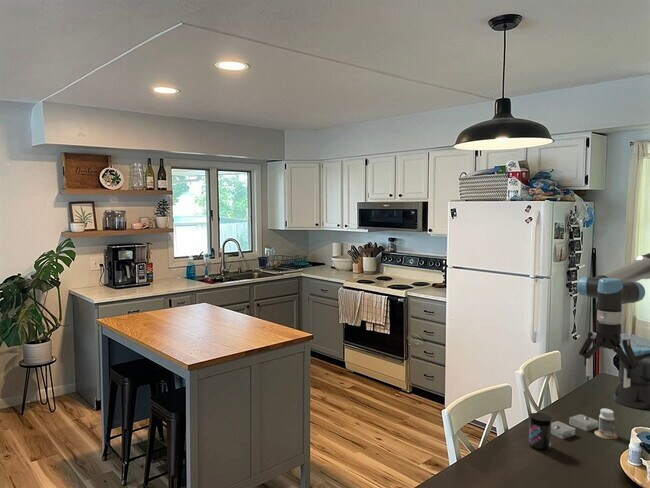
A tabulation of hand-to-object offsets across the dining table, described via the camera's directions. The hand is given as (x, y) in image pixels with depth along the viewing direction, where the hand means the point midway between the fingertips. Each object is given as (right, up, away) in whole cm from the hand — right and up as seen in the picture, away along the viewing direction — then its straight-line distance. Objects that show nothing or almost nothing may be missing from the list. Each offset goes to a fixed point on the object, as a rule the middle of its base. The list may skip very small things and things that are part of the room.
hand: (607, 381), depth 176 cm
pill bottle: (0, -19, 0) cm, 19 cm away
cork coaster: (-1, -19, 0) cm, 19 cm away
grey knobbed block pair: (-10, -19, +4) cm, 22 cm away
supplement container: (-28, -20, -9) cm, 36 cm away
